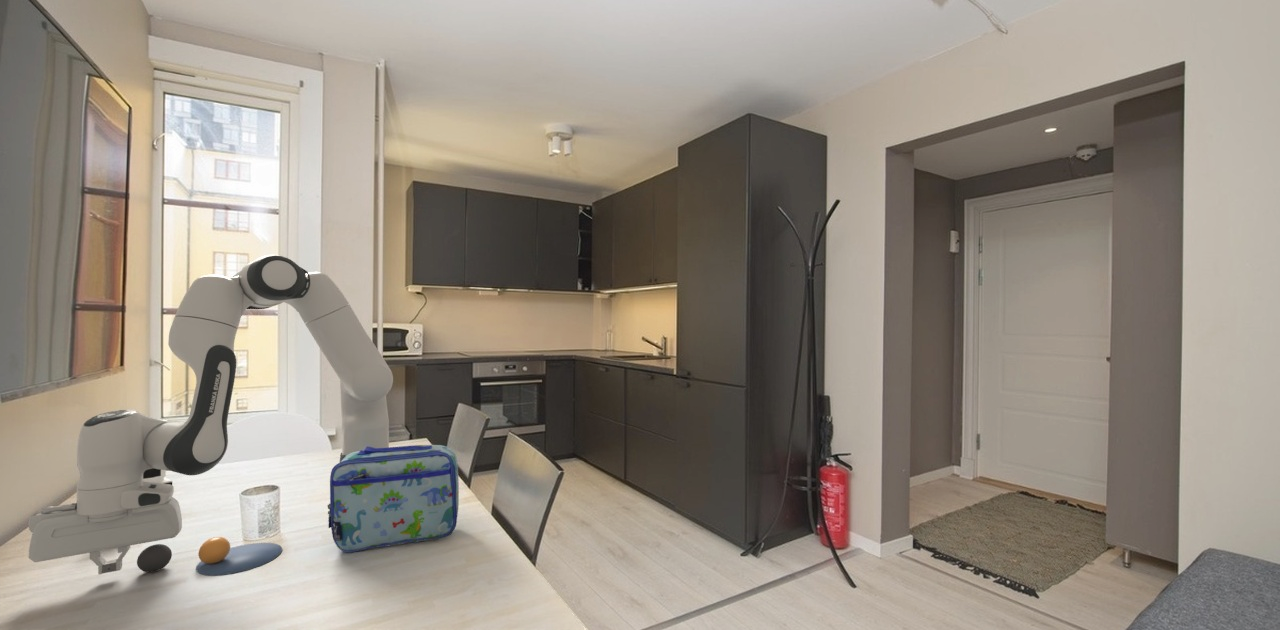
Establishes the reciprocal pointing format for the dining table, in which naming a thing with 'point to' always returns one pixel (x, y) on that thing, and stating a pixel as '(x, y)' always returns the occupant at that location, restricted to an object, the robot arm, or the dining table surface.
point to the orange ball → (214, 550)
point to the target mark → (242, 559)
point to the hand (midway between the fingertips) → (110, 571)
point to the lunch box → (393, 496)
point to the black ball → (154, 558)
